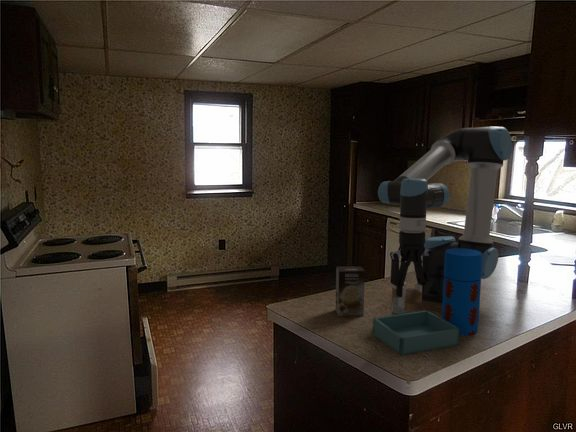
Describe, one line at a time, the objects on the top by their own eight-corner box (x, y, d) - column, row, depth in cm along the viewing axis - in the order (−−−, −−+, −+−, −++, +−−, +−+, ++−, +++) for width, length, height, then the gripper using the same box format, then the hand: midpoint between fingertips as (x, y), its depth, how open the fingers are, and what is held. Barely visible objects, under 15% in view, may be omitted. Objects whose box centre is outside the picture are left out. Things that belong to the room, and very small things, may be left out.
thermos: (459, 338, 130) (463, 257, 126) (434, 325, 139) (437, 250, 136) (485, 331, 134) (490, 253, 130) (459, 319, 144) (463, 246, 140)
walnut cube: (411, 303, 134) (412, 288, 133) (421, 308, 129) (422, 292, 128) (397, 305, 132) (398, 289, 132) (407, 310, 127) (407, 294, 127)
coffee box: (337, 316, 148) (338, 271, 145) (335, 309, 154) (335, 266, 152) (364, 315, 148) (365, 270, 146) (360, 309, 154) (361, 265, 152)
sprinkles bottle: (394, 317, 147) (395, 279, 145) (407, 320, 144) (408, 281, 142) (388, 321, 143) (389, 282, 141) (402, 324, 140) (403, 284, 138)
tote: (426, 324, 140) (427, 310, 139) (459, 345, 125) (460, 328, 124) (373, 333, 134) (373, 318, 133) (400, 355, 119) (401, 338, 118)
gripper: (392, 234, 121) (390, 313, 124) (446, 231, 126) (442, 306, 130) (379, 230, 128) (377, 305, 131) (430, 226, 133) (427, 298, 137)
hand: (409, 305), depth 131 cm, fingers closed on walnut cube, 5 cm apart
